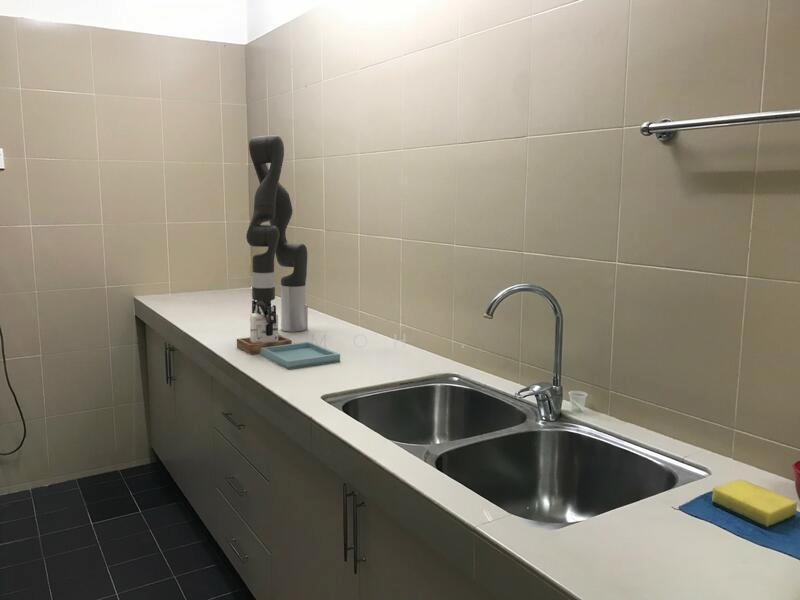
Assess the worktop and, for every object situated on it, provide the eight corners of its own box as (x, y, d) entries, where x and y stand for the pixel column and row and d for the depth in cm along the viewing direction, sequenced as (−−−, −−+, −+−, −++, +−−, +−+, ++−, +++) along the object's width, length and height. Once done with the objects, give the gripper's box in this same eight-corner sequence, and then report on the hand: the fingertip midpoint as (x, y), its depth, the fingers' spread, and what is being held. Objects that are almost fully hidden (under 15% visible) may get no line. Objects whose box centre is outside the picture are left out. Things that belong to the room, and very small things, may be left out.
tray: (309, 348, 224) (309, 341, 224) (340, 361, 208) (340, 354, 208) (260, 355, 214) (260, 347, 213) (288, 369, 198) (288, 361, 197)
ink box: (253, 351, 219) (252, 316, 217) (249, 347, 223) (249, 313, 221) (278, 348, 223) (278, 314, 221) (274, 345, 227) (274, 311, 225)
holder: (277, 342, 232) (277, 334, 231) (291, 348, 223) (291, 340, 222) (236, 347, 223) (236, 338, 222) (250, 354, 214) (249, 345, 214)
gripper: (283, 287, 216) (283, 336, 219) (265, 282, 227) (265, 328, 230) (261, 289, 212) (262, 338, 214) (244, 283, 223) (244, 330, 226)
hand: (263, 333), depth 222 cm, fingers open, 8 cm apart
